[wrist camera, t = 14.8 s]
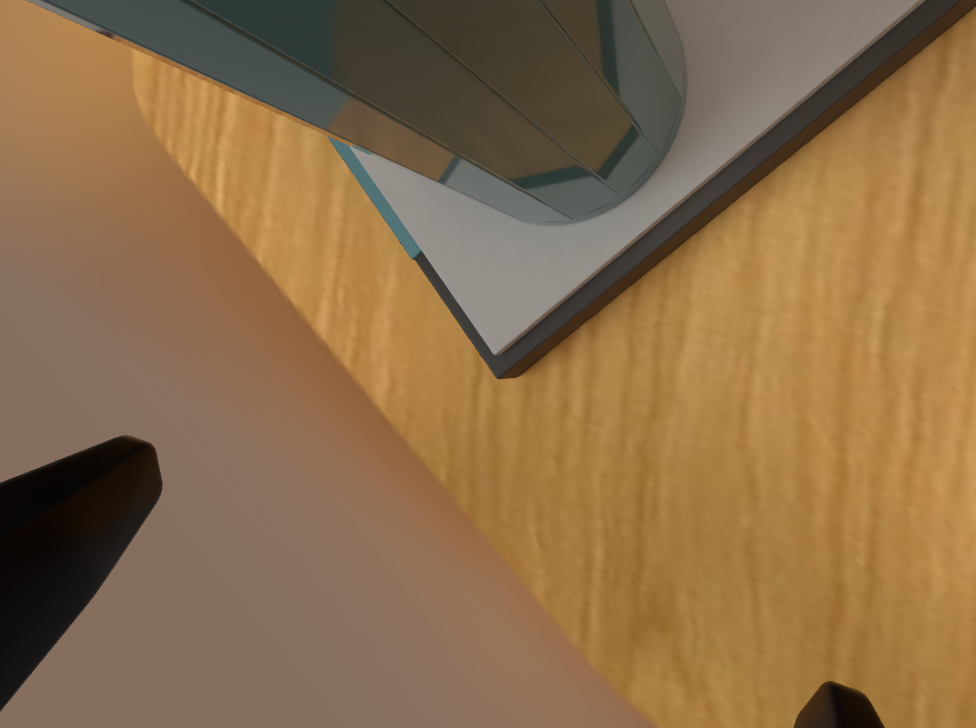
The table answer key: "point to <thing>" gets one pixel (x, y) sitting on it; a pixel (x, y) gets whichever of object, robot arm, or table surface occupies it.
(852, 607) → the table surface
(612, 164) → the tumbler
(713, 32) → the scale
